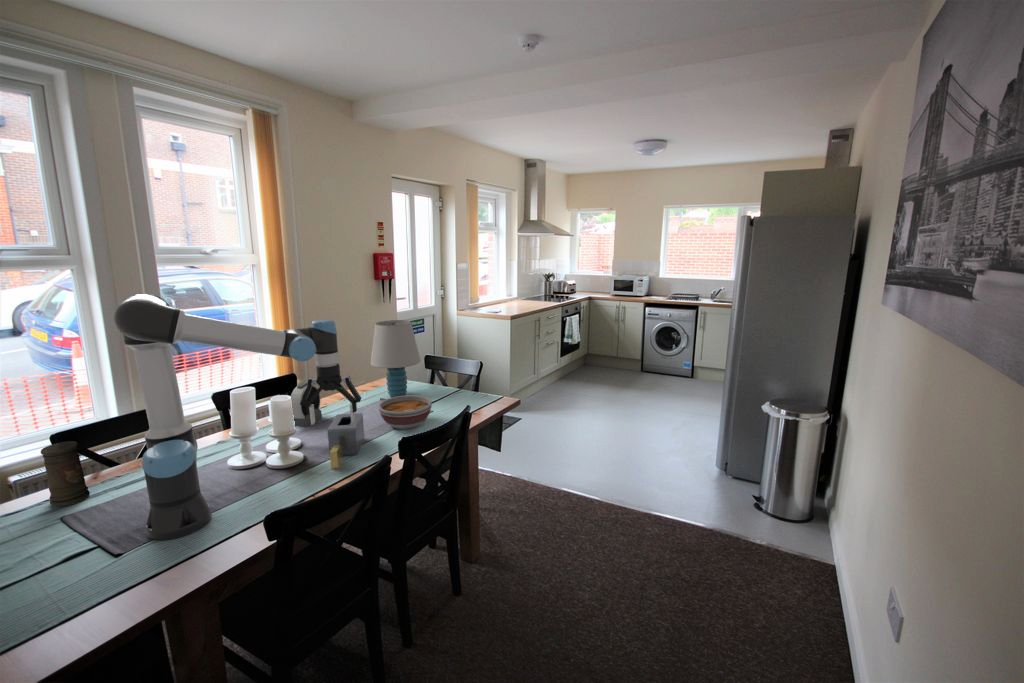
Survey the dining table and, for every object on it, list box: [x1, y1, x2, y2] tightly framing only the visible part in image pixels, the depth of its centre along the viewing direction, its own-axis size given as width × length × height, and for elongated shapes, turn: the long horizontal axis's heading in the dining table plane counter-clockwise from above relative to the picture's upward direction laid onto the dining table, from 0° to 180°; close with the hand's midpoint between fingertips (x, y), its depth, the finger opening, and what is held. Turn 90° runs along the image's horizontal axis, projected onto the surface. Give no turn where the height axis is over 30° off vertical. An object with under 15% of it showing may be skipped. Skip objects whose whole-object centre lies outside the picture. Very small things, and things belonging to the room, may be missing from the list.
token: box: [329, 445, 343, 470], centre depth 168 cm, size 6×2×6 cm, turn 8°
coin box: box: [326, 412, 365, 457], centre depth 182 cm, size 10×16×11 cm, turn 8°
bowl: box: [378, 394, 433, 430], centre depth 206 cm, size 23×23×10 cm
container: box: [40, 440, 91, 508], centre depth 145 cm, size 9×9×18 cm
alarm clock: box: [290, 381, 323, 428], centre depth 209 cm, size 16×10×18 cm, turn 171°
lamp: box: [370, 319, 421, 398], centre depth 243 cm, size 25×25×39 cm
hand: (333, 422), depth 166 cm, fingers open, 13 cm apart
